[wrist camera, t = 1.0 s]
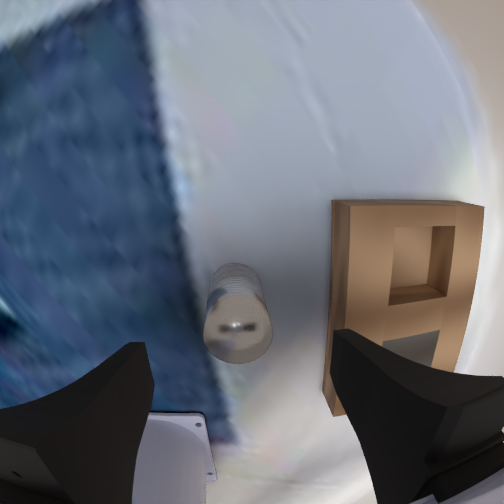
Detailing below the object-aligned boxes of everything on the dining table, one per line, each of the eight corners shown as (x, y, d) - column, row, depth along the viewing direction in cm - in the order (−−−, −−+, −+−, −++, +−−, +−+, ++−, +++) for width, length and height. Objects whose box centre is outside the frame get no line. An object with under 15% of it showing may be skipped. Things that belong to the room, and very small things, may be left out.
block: (430, 367, 22) (448, 386, 19) (322, 391, 22) (333, 416, 19) (457, 200, 19) (484, 206, 16) (331, 200, 18) (350, 205, 15)
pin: (260, 307, 20) (272, 361, 14) (212, 310, 19) (207, 365, 14) (258, 261, 19) (272, 301, 13) (207, 264, 19) (199, 306, 13)
